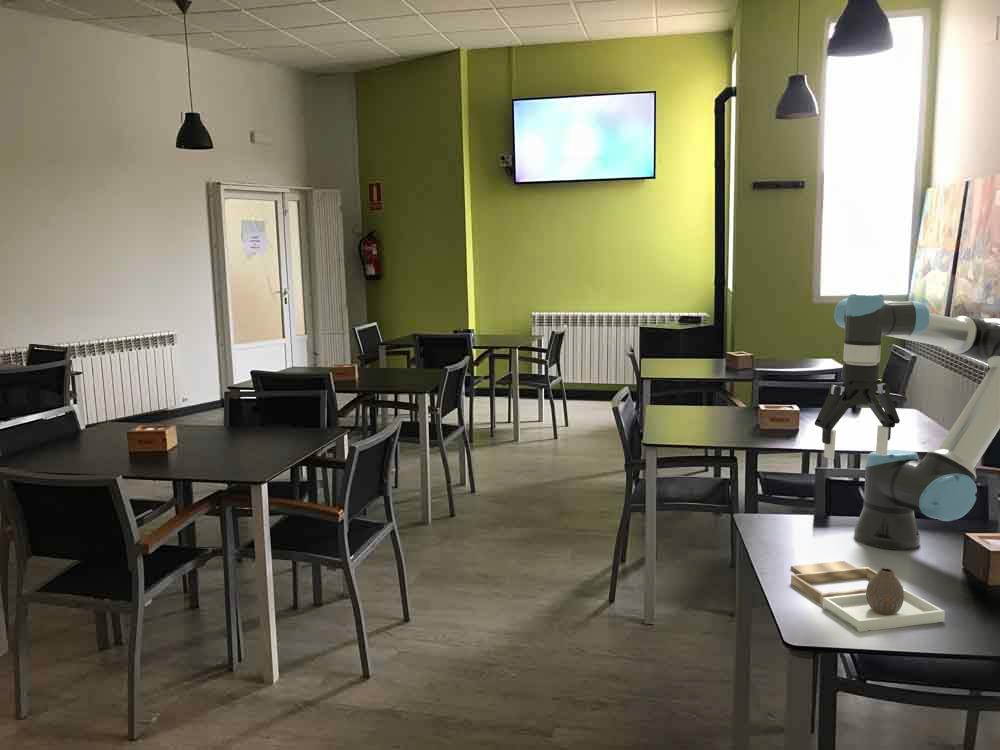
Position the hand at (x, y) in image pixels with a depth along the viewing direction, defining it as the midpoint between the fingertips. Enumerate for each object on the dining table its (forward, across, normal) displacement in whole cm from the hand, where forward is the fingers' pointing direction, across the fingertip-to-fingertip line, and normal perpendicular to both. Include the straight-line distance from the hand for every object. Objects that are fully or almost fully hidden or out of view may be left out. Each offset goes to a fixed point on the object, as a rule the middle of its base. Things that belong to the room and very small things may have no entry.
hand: (855, 456), depth 188 cm
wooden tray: (+27, +8, +10) cm, 30 cm away
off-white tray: (+27, +9, +23) cm, 36 cm away
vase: (+26, +9, +23) cm, 36 cm away
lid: (+27, +6, 0) cm, 27 cm away
